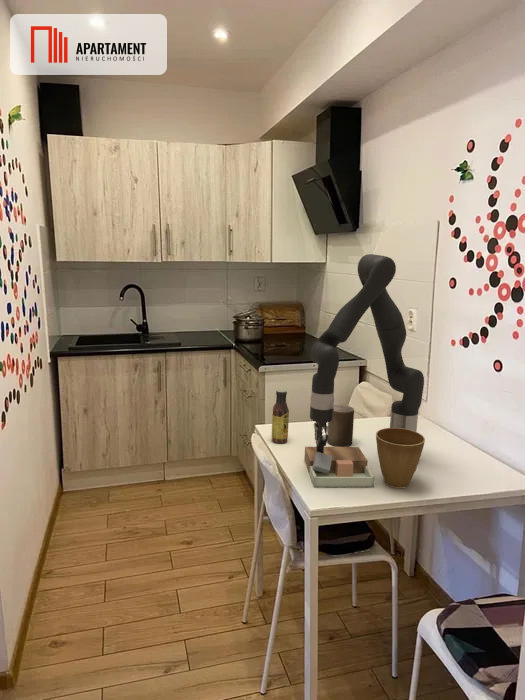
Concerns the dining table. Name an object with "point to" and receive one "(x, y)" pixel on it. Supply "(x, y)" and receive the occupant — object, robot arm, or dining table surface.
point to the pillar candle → (341, 426)
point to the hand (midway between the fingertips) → (319, 455)
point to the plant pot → (399, 454)
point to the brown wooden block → (338, 457)
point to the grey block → (322, 462)
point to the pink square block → (344, 468)
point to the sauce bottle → (280, 418)
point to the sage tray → (343, 480)
